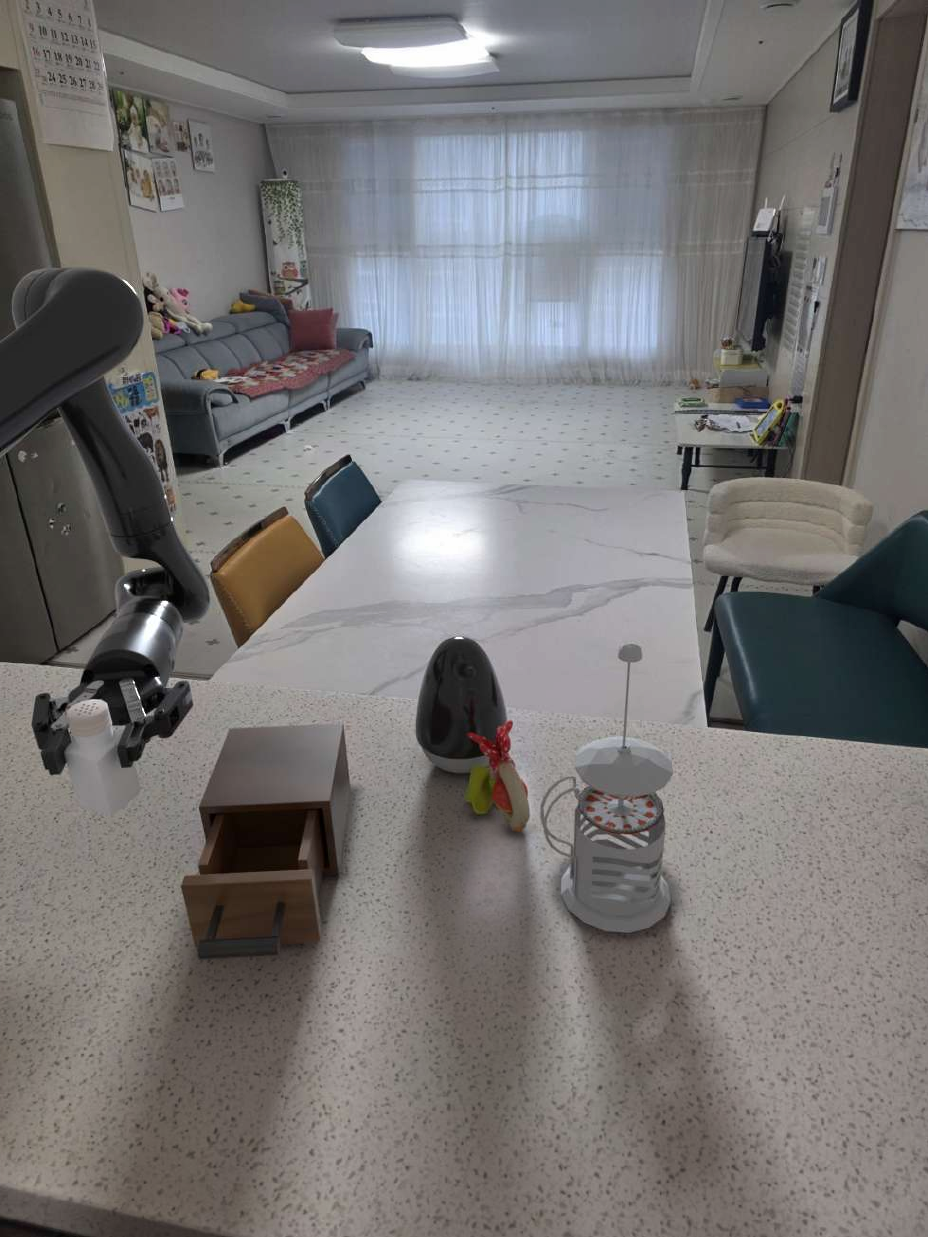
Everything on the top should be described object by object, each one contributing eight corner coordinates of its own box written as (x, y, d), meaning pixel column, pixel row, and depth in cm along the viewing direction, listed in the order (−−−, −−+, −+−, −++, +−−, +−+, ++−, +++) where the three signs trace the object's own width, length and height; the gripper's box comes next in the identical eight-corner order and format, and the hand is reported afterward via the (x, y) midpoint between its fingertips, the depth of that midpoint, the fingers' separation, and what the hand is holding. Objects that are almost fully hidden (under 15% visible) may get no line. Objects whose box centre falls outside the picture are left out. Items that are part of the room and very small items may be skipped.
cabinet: (339, 875, 77) (329, 801, 73) (214, 881, 76) (198, 807, 73) (350, 790, 88) (343, 723, 84) (242, 795, 88) (229, 728, 84)
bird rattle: (544, 835, 84) (504, 763, 89) (570, 777, 76) (525, 702, 81) (490, 855, 82) (452, 780, 87) (511, 798, 73) (468, 719, 79)
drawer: (313, 991, 64) (302, 927, 61) (178, 998, 64) (162, 934, 61) (334, 847, 79) (327, 789, 76) (225, 852, 79) (214, 795, 76)
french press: (685, 928, 70) (715, 671, 59) (549, 939, 69) (554, 681, 58) (653, 849, 79) (674, 612, 68) (532, 857, 78) (534, 620, 67)
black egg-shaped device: (427, 795, 87) (419, 669, 80) (410, 741, 96) (402, 624, 89) (520, 779, 89) (520, 655, 82) (494, 727, 98) (492, 612, 91)
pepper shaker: (110, 783, 75) (86, 692, 70) (145, 792, 73) (123, 701, 69) (76, 809, 71) (49, 716, 67) (112, 820, 70) (86, 726, 66)
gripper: (48, 635, 80) (-18, 733, 65) (200, 623, 82) (170, 715, 66) (66, 702, 83) (7, 809, 68) (212, 688, 85) (186, 790, 70)
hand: (88, 762), depth 67 cm, fingers closed on pepper shaker, 5 cm apart
